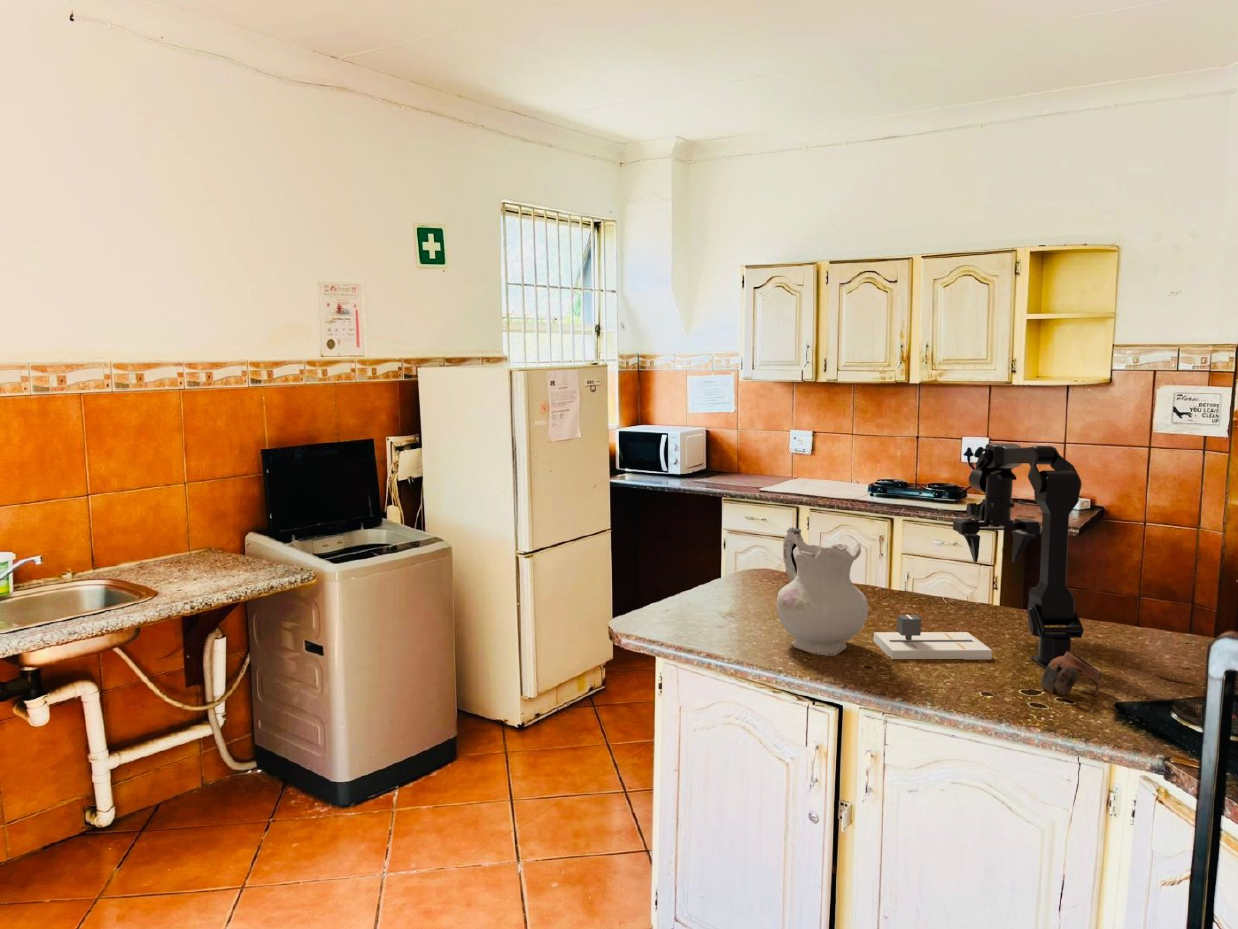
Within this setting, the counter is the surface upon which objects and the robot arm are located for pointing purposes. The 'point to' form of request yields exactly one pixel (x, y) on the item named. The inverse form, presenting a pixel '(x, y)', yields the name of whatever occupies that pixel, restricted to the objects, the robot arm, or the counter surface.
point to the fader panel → (932, 646)
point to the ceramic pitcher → (820, 596)
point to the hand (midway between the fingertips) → (994, 562)
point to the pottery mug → (1068, 674)
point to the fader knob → (909, 626)
